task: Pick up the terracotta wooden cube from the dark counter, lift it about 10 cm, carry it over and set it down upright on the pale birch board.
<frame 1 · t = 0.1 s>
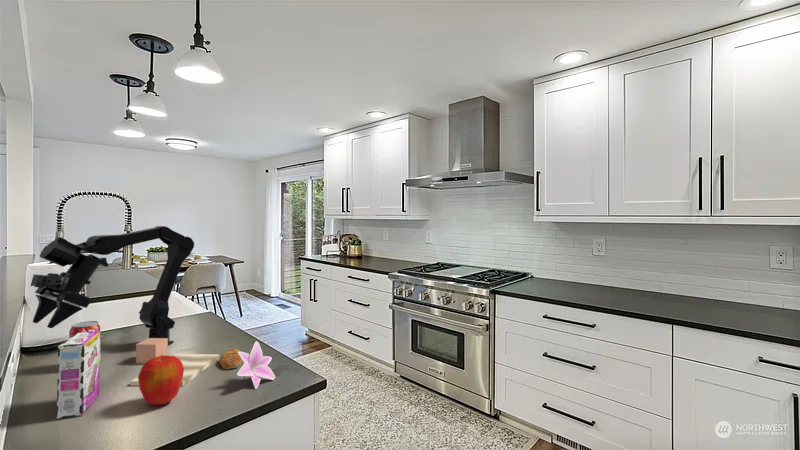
hand: (41, 325, 102), 15 cm above the worktop, tool tilted 35°, fingers open, 9 cm apart
lily: (254, 383, 102), on the worktop
soda can: (85, 367, 111), on the worktop
candy bar box: (80, 407, 88), on the worktop
pastry: (232, 364, 115), on the worktop
birch board: (178, 370, 109), on the worktop
terracotta cube: (152, 360, 117), on the worktop
apple: (161, 403, 90), on the worktop
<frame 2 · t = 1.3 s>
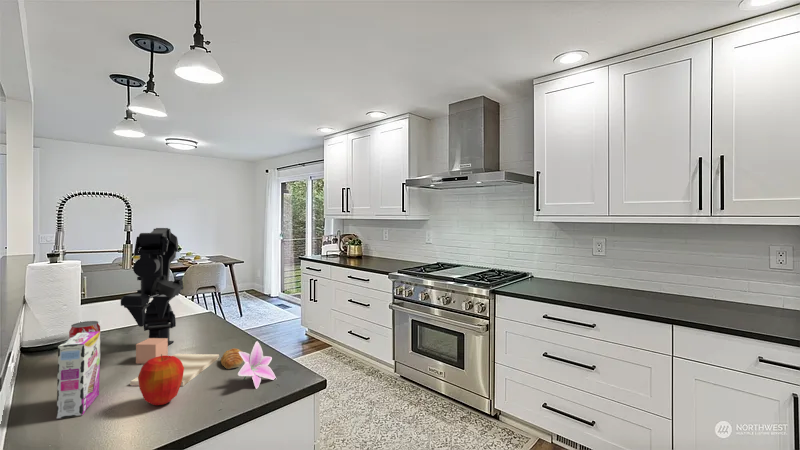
hand: (151, 322, 117), 12 cm above the worktop, tool pointing down, fingers open, 9 cm apart
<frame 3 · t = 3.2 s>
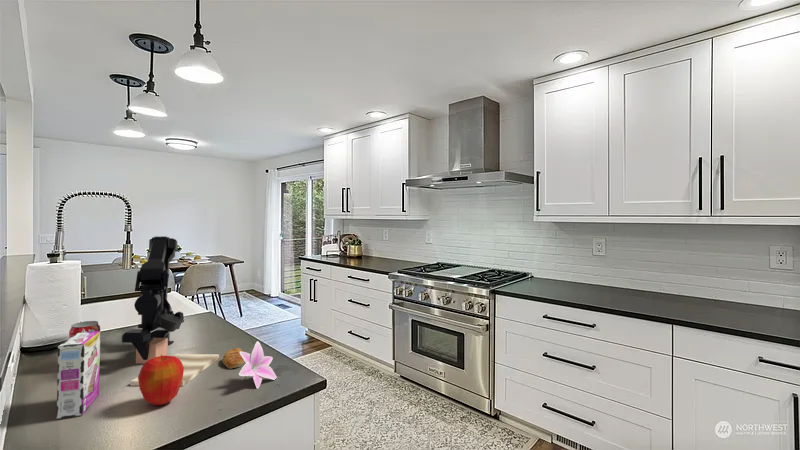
hand: (152, 355, 117), 1 cm above the worktop, tool pointing down, fingers closed on terracotta cube, 6 cm apart
terracotta cube: (152, 359, 117), on the worktop, touching gripper
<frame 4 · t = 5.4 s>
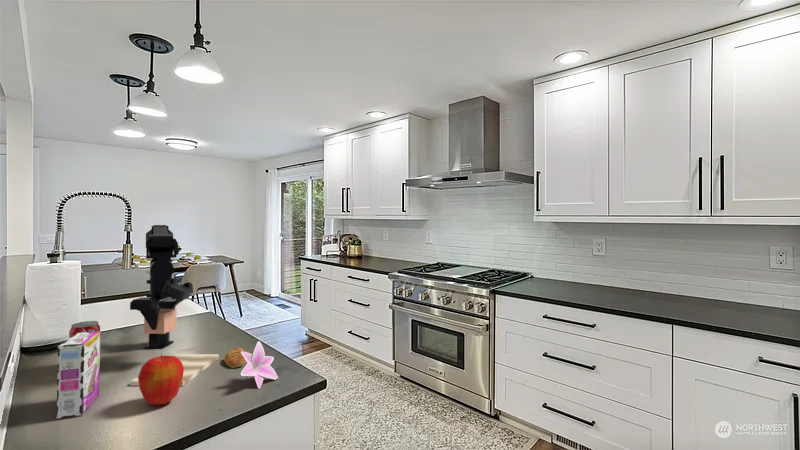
hand: (160, 326, 114), 11 cm above the worktop, tool pointing down, fingers closed on terracotta cube, 6 cm apart
terracotta cube: (160, 330, 114), point 10 cm above the worktop, touching gripper
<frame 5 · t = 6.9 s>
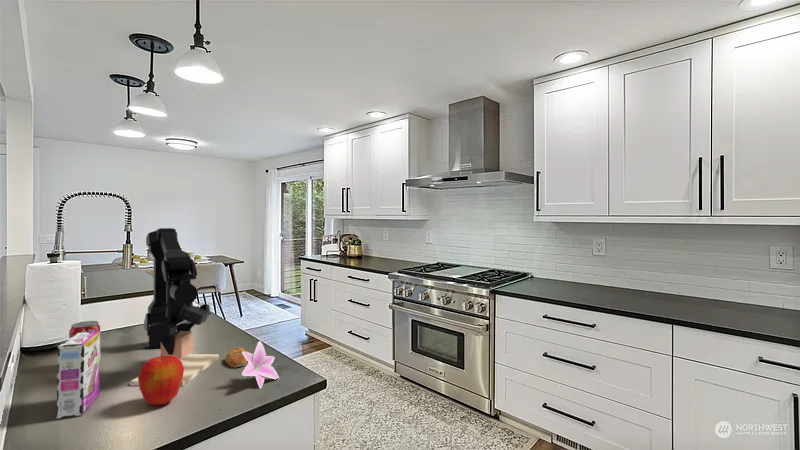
hand: (177, 350, 110), 6 cm above the worktop, tool pointing down, fingers closed on terracotta cube, 6 cm apart
terracotta cube: (177, 354, 110), point 4 cm above the worktop, touching gripper
when the fingers open (4 cm above the worktop, at t = 7.7 s): terracotta cube drops 1 cm, resting on birch board.
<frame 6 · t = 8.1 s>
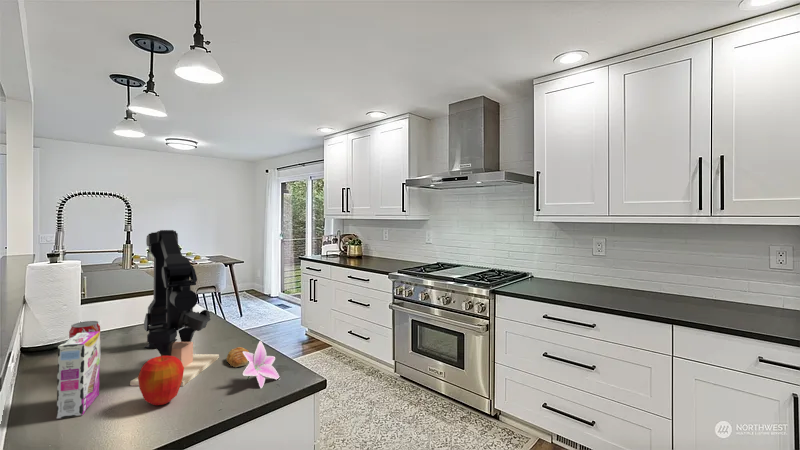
hand: (177, 356, 110), 4 cm above the worktop, tool pointing down, fingers open, 9 cm apart
terracotta cube: (177, 365, 110), point 1 cm above the worktop, touching birch board
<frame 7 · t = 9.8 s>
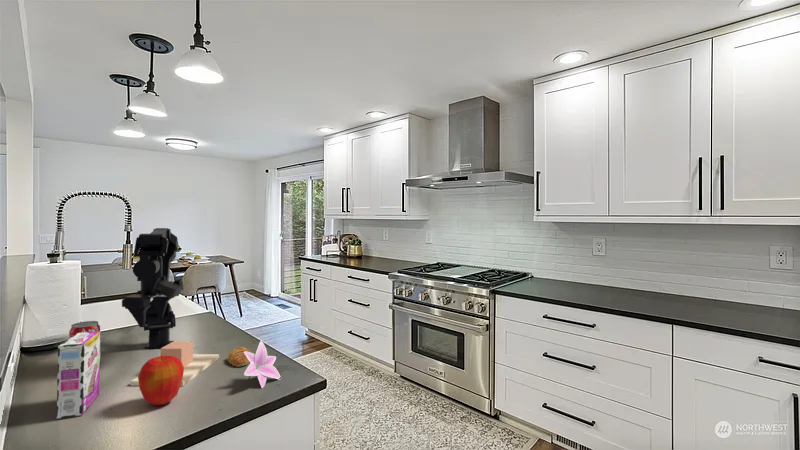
hand: (151, 322, 117), 12 cm above the worktop, tool pointing down, fingers open, 9 cm apart
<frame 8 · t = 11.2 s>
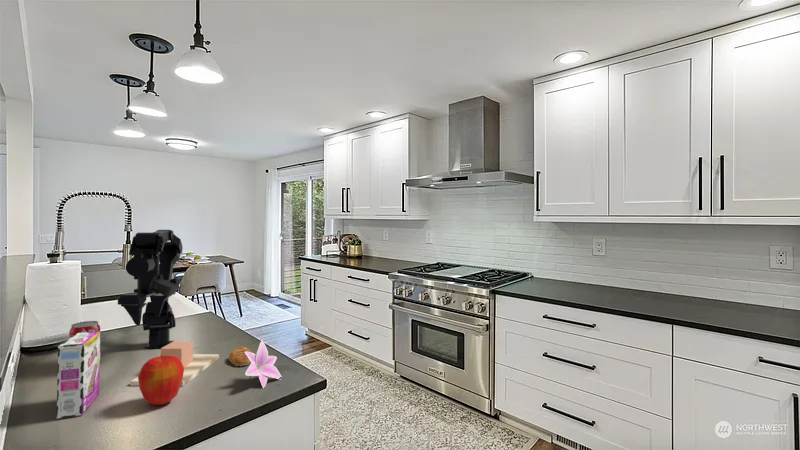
hand: (148, 321, 118), 12 cm above the worktop, tool pointing down, fingers open, 9 cm apart
at the end: terracotta cube inside the target area on the birch board (1.5 cm from its centre), point 1.2 cm above the birch board's base; terracotta cube tilted 0°; the gripper is holding nothing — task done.
